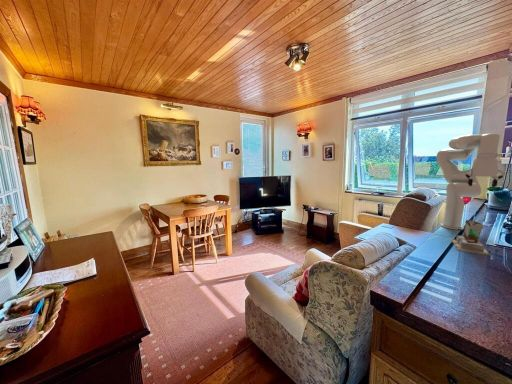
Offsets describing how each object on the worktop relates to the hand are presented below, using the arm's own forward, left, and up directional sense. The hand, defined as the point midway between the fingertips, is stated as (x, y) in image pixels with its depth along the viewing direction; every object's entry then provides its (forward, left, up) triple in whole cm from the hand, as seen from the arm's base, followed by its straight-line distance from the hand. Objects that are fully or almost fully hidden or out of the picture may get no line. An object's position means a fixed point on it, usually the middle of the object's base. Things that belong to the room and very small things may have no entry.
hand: (481, 186), depth 128 cm
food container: (+16, -4, -28) cm, 33 cm away
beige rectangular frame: (+16, -5, -32) cm, 37 cm away
